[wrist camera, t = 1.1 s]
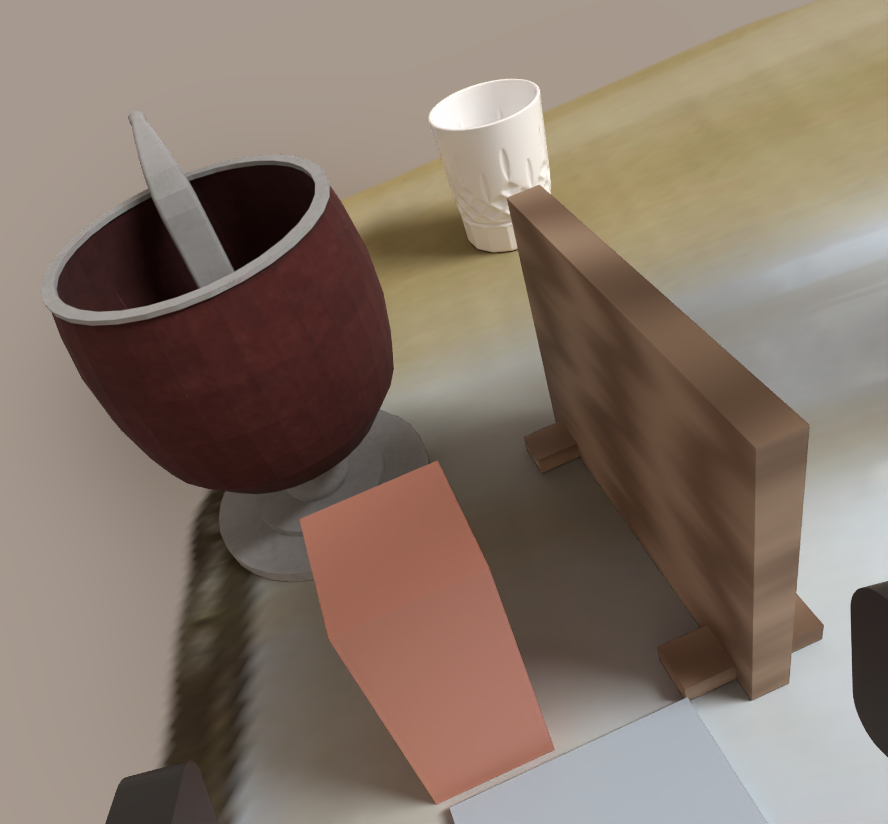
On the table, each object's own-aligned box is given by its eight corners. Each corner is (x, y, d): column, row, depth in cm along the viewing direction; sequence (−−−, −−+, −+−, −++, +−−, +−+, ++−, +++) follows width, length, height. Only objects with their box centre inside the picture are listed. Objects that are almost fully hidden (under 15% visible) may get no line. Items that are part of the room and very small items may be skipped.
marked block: (507, 646, 34) (437, 460, 26) (554, 749, 30) (489, 568, 22) (397, 695, 34) (293, 521, 26) (431, 806, 30) (321, 642, 22)
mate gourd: (485, 513, 40) (360, 146, 27) (234, 642, 38) (-30, 314, 25) (386, 363, 51) (265, 57, 38) (190, 456, 49) (-7, 167, 36)
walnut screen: (520, 438, 43) (460, 216, 34) (617, 396, 44) (584, 166, 34) (700, 724, 29) (681, 480, 20) (839, 659, 30) (881, 392, 21)
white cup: (568, 198, 61) (548, 71, 55) (553, 253, 56) (528, 120, 50) (474, 207, 64) (443, 88, 58) (450, 261, 59) (414, 136, 52)
